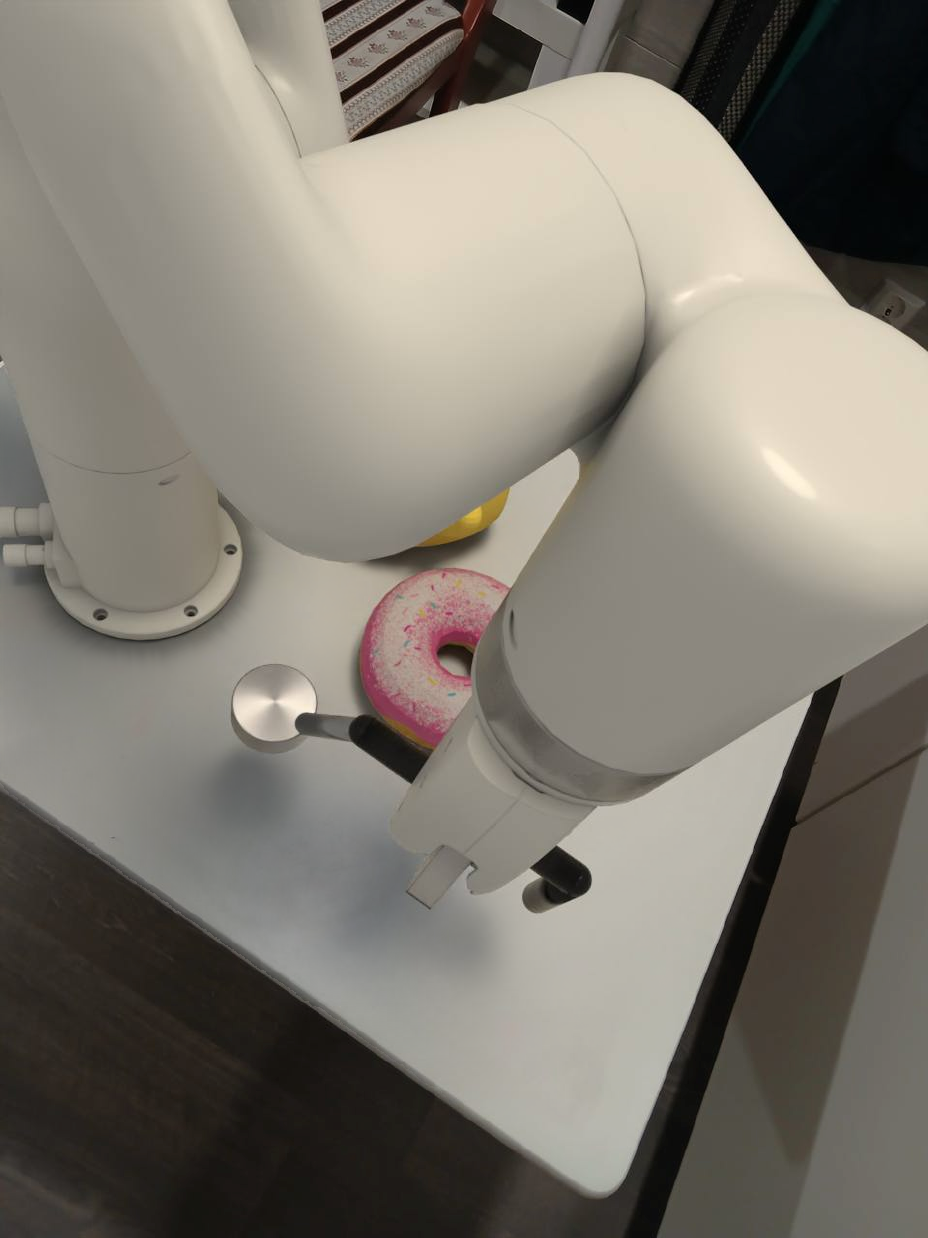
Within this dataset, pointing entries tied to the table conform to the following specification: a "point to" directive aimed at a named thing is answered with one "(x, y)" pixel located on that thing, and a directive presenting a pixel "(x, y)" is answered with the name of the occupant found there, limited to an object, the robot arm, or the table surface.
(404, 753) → the ladle
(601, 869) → the table surface
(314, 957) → the table surface
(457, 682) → the donut
